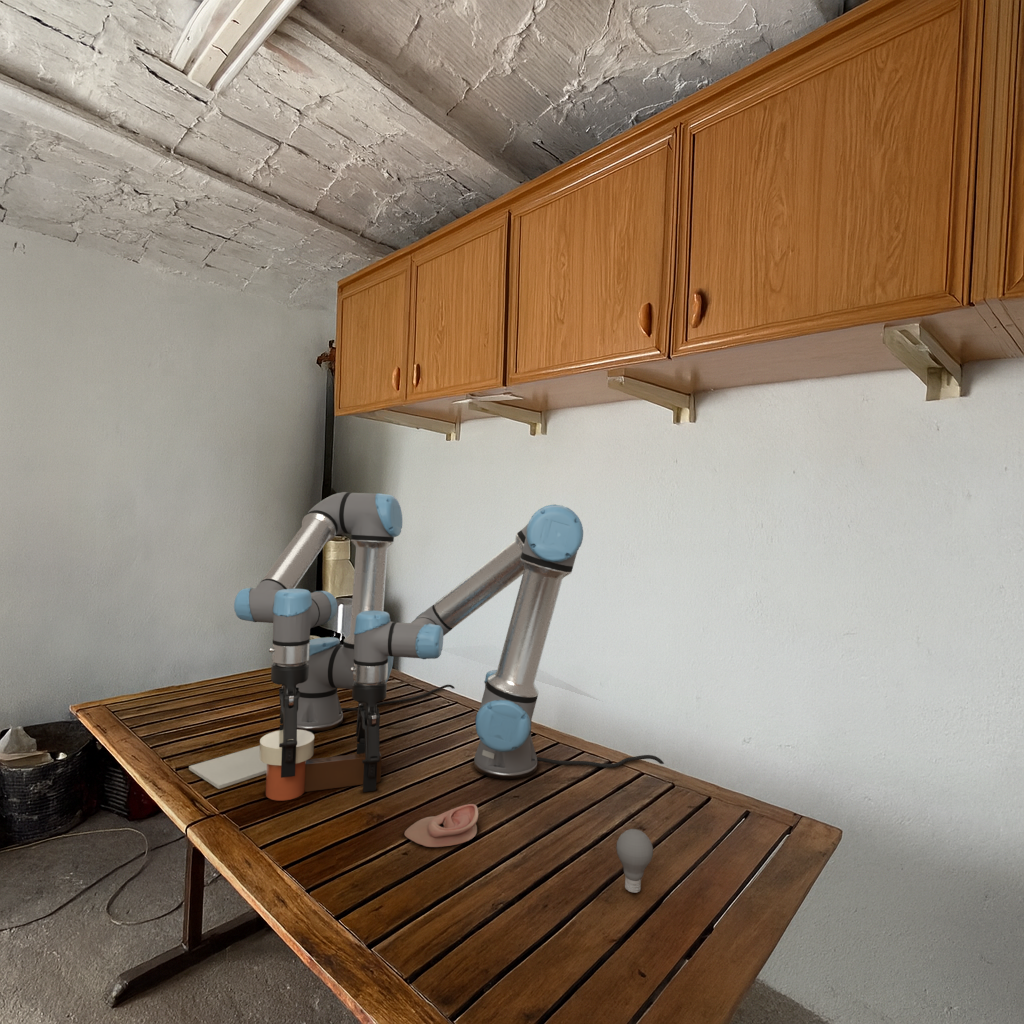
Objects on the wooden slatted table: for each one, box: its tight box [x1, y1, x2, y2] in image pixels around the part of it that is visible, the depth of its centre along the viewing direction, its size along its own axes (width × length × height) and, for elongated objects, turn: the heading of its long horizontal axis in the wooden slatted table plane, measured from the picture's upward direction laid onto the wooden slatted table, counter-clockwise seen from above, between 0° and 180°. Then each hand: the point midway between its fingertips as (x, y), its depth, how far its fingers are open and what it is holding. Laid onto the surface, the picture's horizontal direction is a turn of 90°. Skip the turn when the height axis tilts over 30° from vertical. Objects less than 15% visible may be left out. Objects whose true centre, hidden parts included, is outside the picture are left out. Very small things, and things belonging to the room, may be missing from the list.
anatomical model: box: [404, 803, 479, 848], centre depth 121 cm, size 13×4×12 cm
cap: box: [259, 729, 315, 766], centre depth 135 cm, size 11×11×4 cm
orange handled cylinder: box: [265, 753, 382, 802], centre depth 138 cm, size 24×8×8 cm, turn 112°
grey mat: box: [188, 744, 267, 790], centre depth 147 cm, size 20×14×1 cm
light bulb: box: [615, 828, 654, 894], centre depth 106 cm, size 6×6×10 cm
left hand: (286, 764), depth 135 cm, fingers closed on cap, 11 cm apart
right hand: (365, 780), depth 142 cm, fingers open, 9 cm apart
